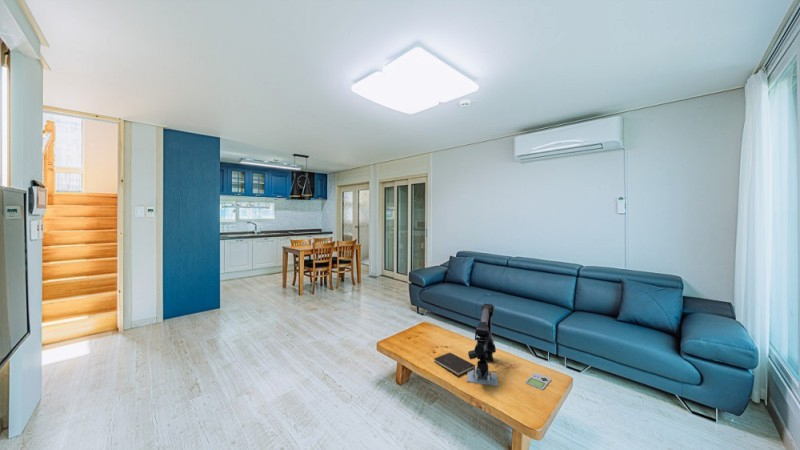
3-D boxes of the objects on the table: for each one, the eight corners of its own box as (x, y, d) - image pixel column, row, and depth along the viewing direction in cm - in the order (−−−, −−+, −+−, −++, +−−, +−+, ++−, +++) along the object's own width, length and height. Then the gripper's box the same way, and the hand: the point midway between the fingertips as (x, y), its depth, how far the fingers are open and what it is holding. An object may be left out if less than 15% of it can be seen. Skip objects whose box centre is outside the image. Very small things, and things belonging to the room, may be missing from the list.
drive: (476, 374, 175) (476, 366, 175) (488, 375, 174) (488, 367, 173) (476, 378, 171) (476, 370, 171) (488, 380, 169) (488, 371, 169)
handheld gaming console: (551, 378, 170) (542, 388, 160) (551, 380, 170) (542, 391, 160) (534, 371, 177) (525, 381, 167) (534, 373, 178) (524, 383, 167)
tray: (467, 371, 180) (467, 364, 180) (496, 375, 176) (496, 368, 176) (467, 381, 169) (467, 374, 169) (498, 386, 164) (498, 379, 164)
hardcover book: (458, 376, 173) (457, 372, 173) (433, 361, 192) (433, 358, 192) (475, 368, 182) (475, 364, 182) (450, 355, 201) (450, 352, 201)
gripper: (469, 339, 183) (469, 363, 183) (468, 353, 165) (468, 379, 165) (486, 341, 180) (486, 365, 180) (488, 355, 162) (488, 381, 162)
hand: (482, 372), depth 172 cm, fingers open, 9 cm apart
